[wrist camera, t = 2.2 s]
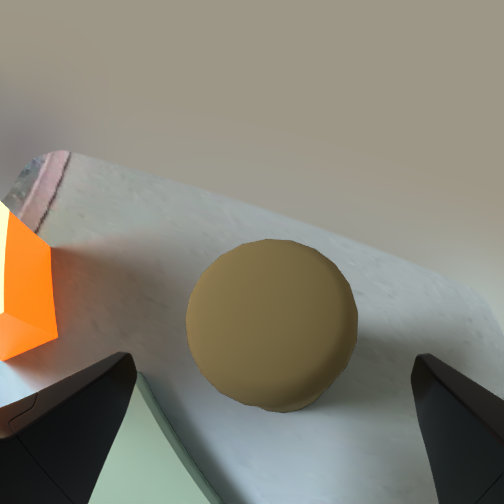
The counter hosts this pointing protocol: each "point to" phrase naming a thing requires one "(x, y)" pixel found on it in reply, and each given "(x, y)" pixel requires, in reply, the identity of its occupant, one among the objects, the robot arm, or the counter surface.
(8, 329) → the orange juice
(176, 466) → the tray
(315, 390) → the cork
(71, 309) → the counter surface
